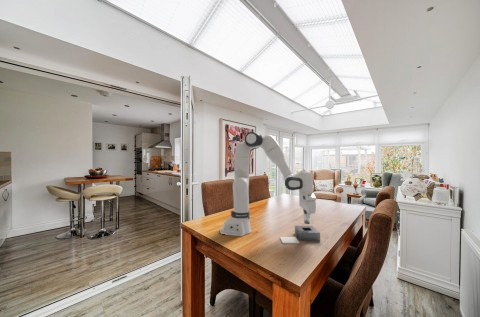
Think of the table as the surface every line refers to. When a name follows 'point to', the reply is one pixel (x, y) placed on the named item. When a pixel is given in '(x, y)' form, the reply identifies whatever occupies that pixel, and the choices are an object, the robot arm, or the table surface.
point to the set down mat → (289, 240)
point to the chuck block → (307, 233)
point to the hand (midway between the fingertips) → (306, 216)
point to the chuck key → (306, 220)
